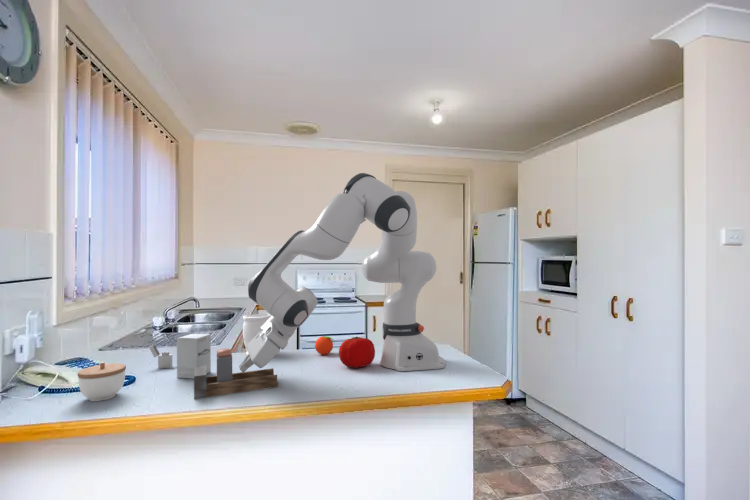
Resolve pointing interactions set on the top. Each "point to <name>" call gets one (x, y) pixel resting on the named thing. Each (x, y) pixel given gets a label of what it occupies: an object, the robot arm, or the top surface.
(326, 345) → the clementine
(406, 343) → the robot arm
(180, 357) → the supplement box
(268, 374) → the base
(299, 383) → the top surface
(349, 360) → the tomato
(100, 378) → the lidded jar
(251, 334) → the jar
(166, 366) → the lighter
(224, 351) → the dome-capped grey post
